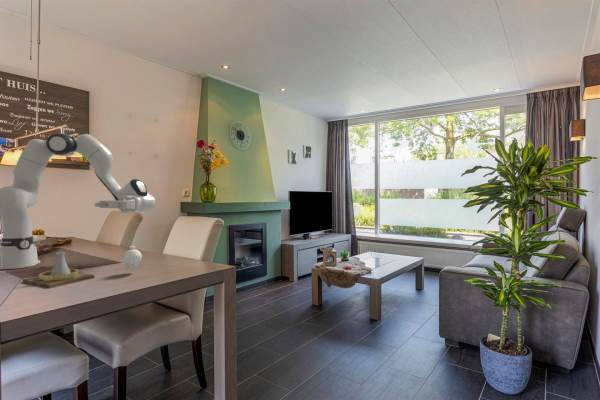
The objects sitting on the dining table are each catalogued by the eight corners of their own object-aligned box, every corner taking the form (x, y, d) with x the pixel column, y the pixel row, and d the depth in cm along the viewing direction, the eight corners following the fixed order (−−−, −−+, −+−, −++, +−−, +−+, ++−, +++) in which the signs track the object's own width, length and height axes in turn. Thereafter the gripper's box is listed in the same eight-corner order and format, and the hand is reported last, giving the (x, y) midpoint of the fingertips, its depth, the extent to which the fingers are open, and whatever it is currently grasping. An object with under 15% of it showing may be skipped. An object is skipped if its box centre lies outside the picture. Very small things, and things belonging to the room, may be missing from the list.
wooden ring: (32, 279, 137) (31, 274, 137) (66, 272, 148) (66, 267, 148) (51, 282, 131) (51, 277, 131) (85, 275, 143) (85, 270, 143)
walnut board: (22, 282, 136) (22, 279, 136) (67, 273, 151) (67, 270, 151) (50, 288, 128) (50, 284, 128) (94, 277, 143) (94, 274, 143)
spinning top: (118, 274, 150) (118, 247, 149) (134, 270, 156) (133, 244, 156) (130, 275, 146) (130, 248, 146) (145, 272, 153) (145, 245, 153)
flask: (61, 279, 136) (61, 254, 136) (45, 278, 137) (44, 254, 137) (75, 275, 143) (75, 251, 143) (59, 274, 144) (59, 251, 144)
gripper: (113, 197, 181) (88, 198, 169) (140, 198, 172) (115, 198, 160) (113, 209, 181) (88, 210, 169) (140, 210, 172) (115, 211, 160)
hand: (101, 204), depth 164 cm, fingers open, 8 cm apart
